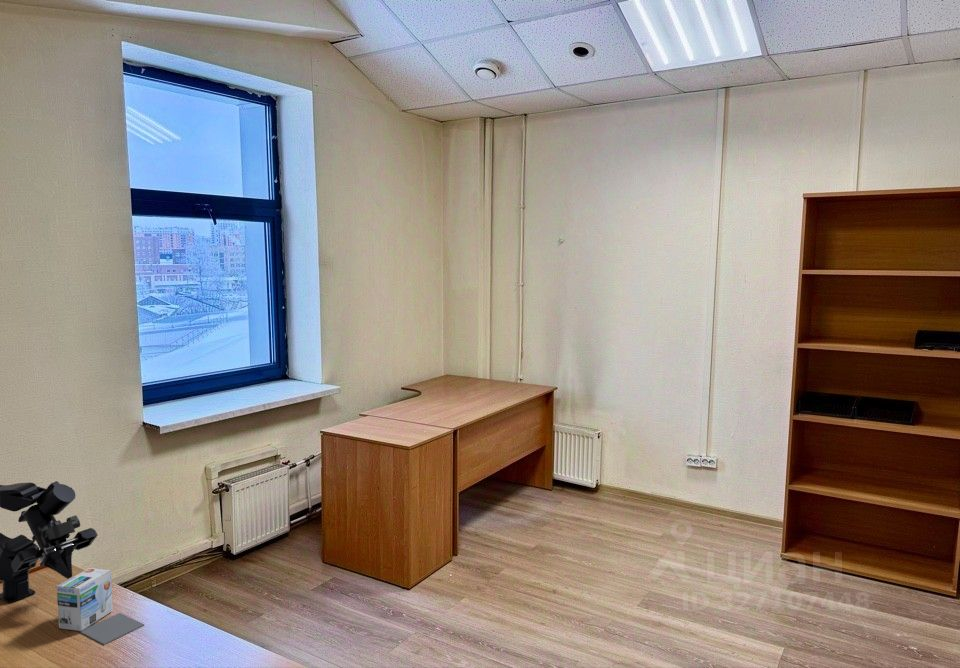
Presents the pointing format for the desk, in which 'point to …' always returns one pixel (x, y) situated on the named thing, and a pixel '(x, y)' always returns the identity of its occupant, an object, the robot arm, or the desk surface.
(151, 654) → the desk surface
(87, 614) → the light bulb box
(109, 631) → the rubber mat
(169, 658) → the desk surface
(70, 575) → the robot arm
